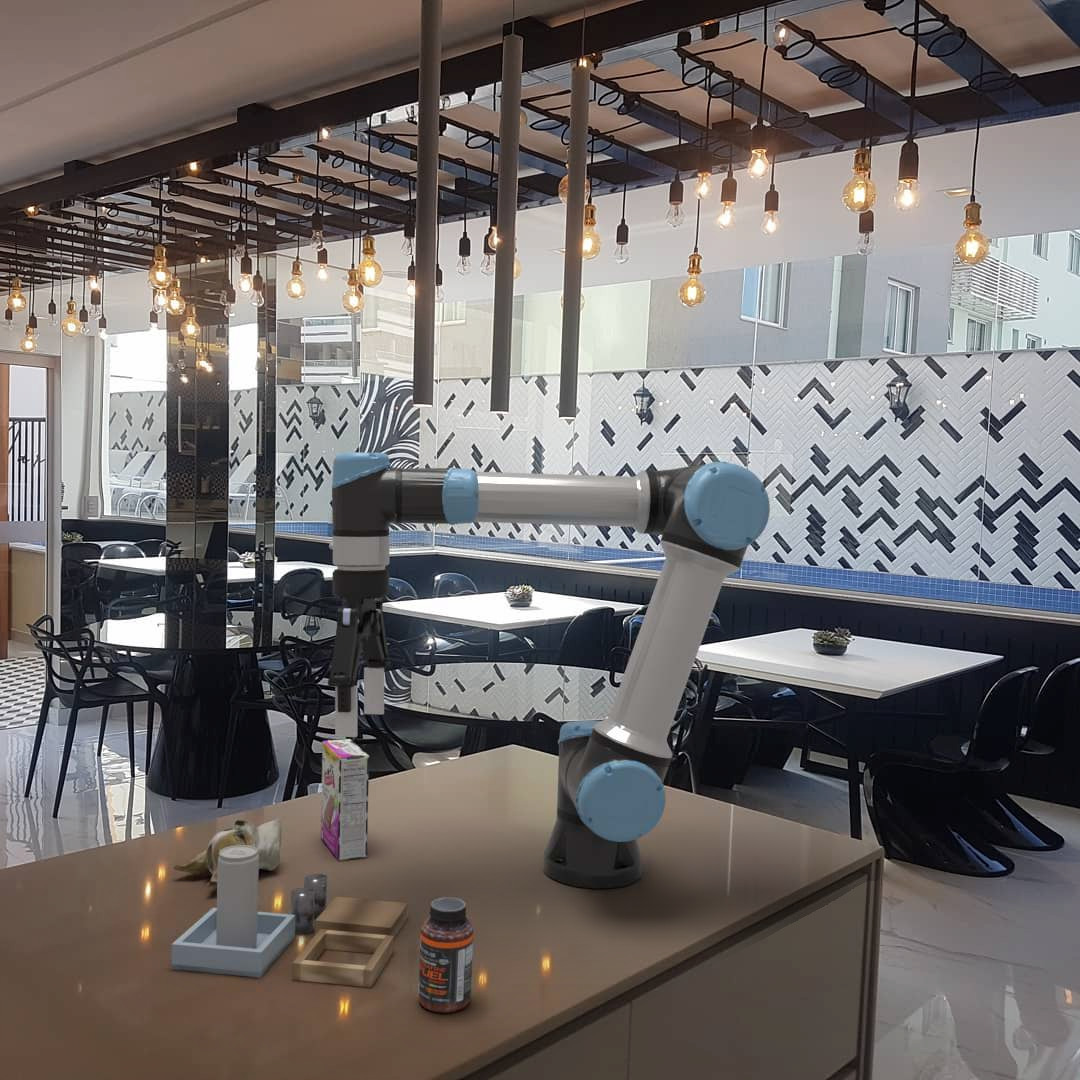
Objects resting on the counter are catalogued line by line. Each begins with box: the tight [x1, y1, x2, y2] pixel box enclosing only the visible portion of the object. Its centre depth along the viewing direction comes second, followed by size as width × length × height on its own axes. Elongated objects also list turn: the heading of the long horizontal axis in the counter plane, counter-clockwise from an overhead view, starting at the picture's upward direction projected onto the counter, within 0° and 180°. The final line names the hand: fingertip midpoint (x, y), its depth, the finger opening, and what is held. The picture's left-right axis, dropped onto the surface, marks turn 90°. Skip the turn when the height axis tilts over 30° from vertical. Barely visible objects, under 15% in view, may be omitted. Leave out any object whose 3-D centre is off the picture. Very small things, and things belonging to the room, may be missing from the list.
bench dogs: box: [289, 873, 328, 936], centre depth 136 cm, size 3×8×5 cm, turn 173°
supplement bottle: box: [417, 896, 474, 1014], centre depth 116 cm, size 6×6×11 cm
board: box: [314, 896, 409, 938], centre depth 135 cm, size 10×8×2 cm
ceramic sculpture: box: [173, 817, 283, 888], centre depth 151 cm, size 11×9×15 cm
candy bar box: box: [320, 738, 370, 862], centre depth 164 cm, size 11×5×16 cm, turn 26°
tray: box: [170, 907, 296, 979], centre depth 126 cm, size 11×11×3 cm
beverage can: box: [216, 845, 260, 948], centre depth 126 cm, size 5×5×12 cm
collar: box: [291, 929, 395, 988], centre depth 124 cm, size 10×10×2 cm
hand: (360, 724), depth 139 cm, fingers open, 13 cm apart
